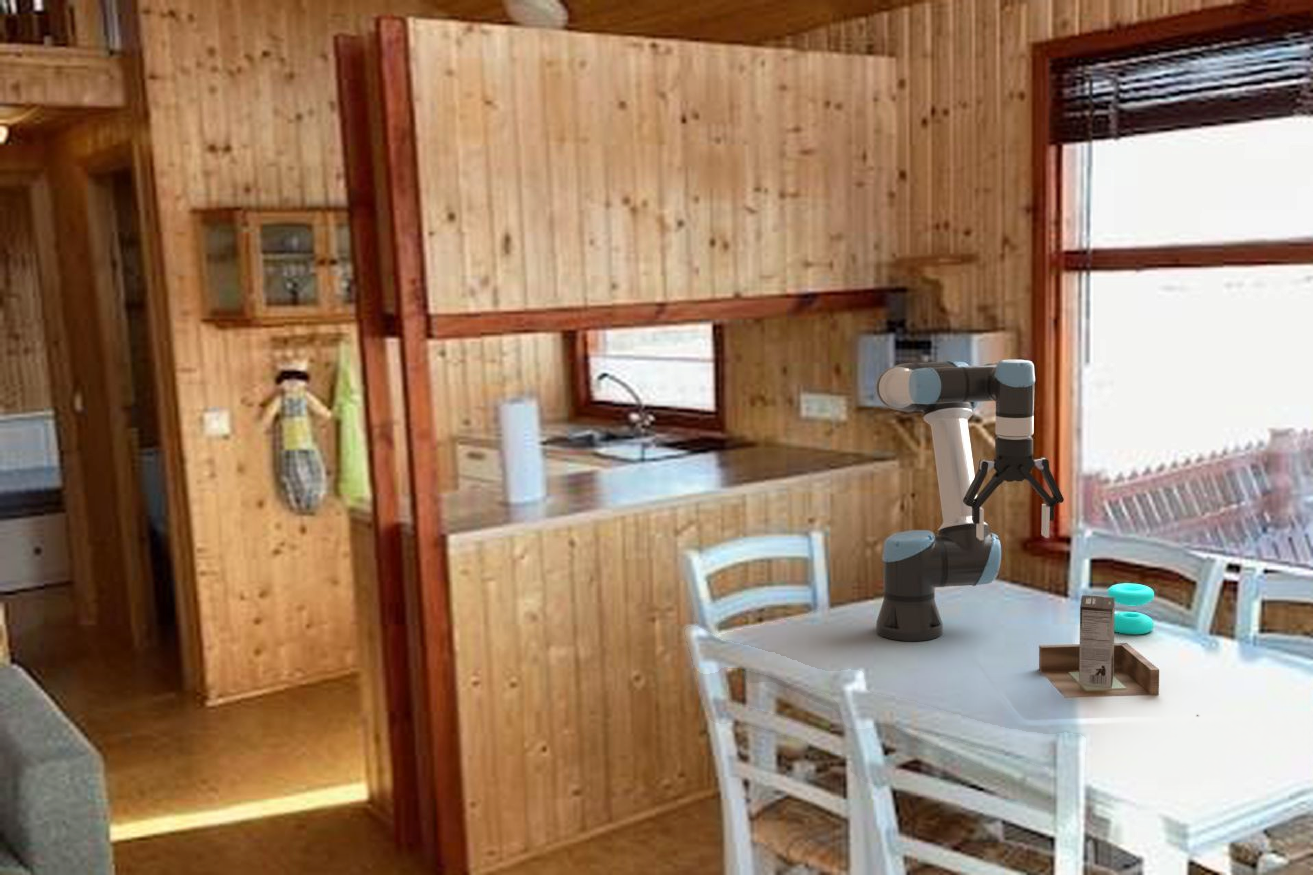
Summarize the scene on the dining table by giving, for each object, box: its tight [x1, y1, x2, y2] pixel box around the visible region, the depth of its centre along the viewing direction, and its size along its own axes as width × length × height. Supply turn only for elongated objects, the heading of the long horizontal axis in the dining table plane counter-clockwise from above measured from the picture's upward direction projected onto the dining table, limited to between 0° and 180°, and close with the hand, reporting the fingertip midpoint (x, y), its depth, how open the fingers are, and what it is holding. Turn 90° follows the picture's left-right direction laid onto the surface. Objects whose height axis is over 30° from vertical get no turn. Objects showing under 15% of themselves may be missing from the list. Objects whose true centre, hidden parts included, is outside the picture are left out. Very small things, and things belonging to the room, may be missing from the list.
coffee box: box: [1079, 594, 1115, 687], centre depth 259 cm, size 9×6×16 cm
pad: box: [1068, 672, 1127, 691], centre depth 260 cm, size 11×8×1 cm
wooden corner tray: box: [1038, 642, 1160, 698], centre depth 259 cm, size 18×18×6 cm
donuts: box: [1107, 582, 1155, 635], centre depth 297 cm, size 10×10×10 cm
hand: (1012, 537), depth 268 cm, fingers open, 13 cm apart
